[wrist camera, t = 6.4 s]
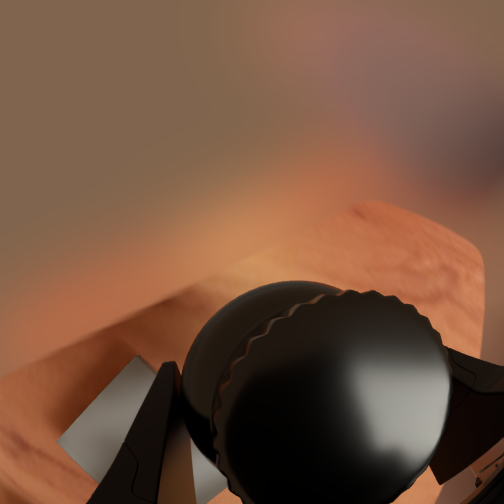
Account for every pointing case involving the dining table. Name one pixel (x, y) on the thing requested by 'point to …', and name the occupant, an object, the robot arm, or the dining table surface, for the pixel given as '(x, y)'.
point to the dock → (126, 430)
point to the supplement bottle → (317, 394)
